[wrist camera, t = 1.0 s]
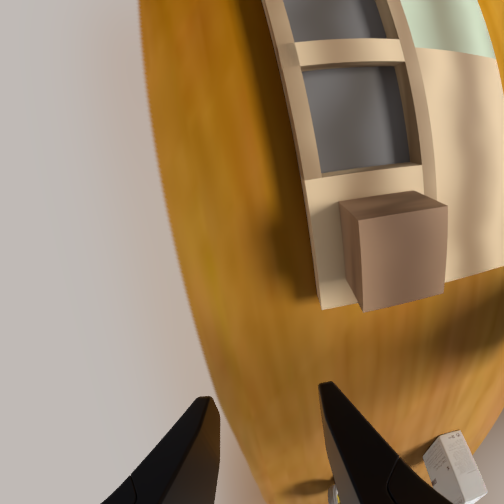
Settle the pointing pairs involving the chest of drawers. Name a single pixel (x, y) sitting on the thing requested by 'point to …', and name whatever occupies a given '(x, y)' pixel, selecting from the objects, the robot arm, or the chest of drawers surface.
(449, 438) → the skincare box
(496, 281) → the chest of drawers surface
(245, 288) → the chest of drawers surface
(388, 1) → the board
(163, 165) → the chest of drawers surface
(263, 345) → the chest of drawers surface
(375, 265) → the walnut block
